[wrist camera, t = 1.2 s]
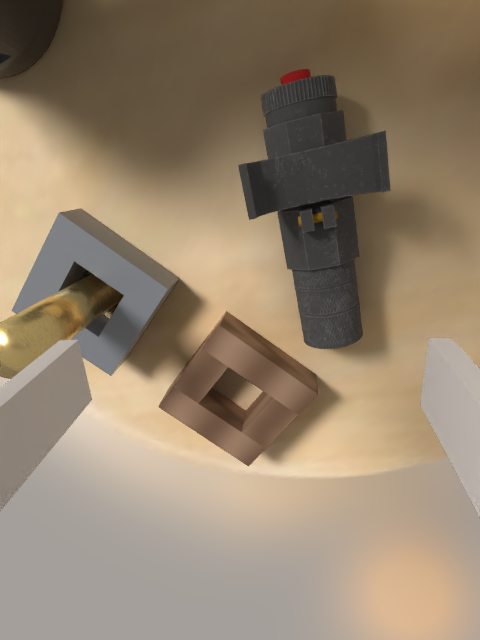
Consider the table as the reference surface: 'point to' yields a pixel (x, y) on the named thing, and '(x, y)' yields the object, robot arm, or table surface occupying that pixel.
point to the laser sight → (316, 200)
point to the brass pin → (52, 322)
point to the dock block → (255, 366)
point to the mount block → (111, 267)
